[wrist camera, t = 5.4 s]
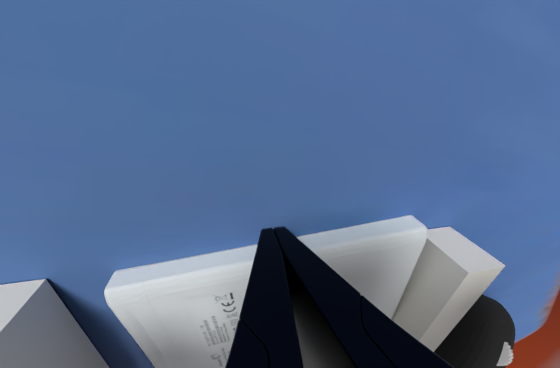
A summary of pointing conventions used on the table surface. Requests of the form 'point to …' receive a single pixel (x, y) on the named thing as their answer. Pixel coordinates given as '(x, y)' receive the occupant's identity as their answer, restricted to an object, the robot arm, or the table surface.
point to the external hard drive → (233, 282)
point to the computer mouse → (480, 337)
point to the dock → (408, 315)
